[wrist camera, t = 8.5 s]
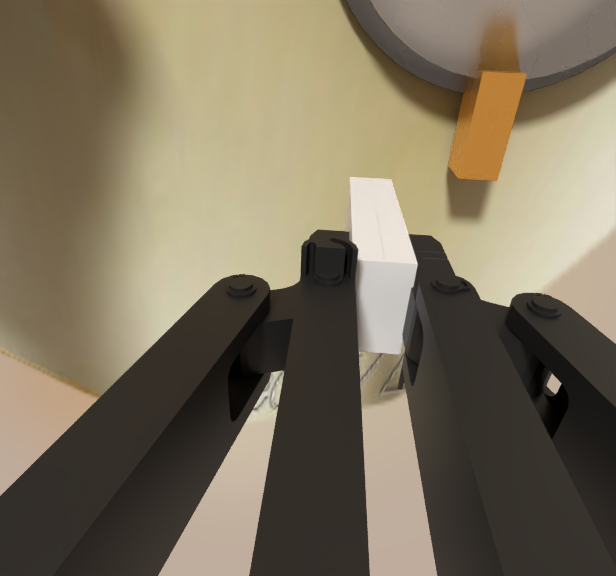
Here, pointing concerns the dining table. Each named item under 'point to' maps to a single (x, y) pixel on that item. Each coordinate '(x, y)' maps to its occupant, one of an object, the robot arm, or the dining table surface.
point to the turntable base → (435, 73)
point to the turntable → (498, 58)
